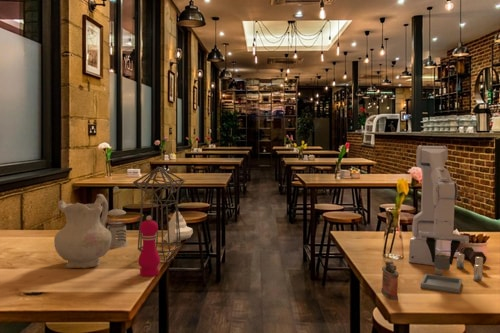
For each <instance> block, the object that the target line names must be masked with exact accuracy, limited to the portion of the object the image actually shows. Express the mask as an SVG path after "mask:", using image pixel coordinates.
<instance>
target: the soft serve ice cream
mask: <svg viewBox="0 0 500 333" xmlns="http://www.w3.org/2000/svg"><path fill="white" fill-rule="evenodd" d="M178 215H179V227H180V239H181V241H184V240H188V239H191V237H192V235H193V233H194V232H193V231H194V230H193V228H192V227H189V226H187V222H186V220H185V219H184V217H183V215H182V214H181V212H180V211H179V210H178ZM168 222H169V239H170V243H177V234H176V211H175V212H174V213H173V214H172V217H171V218H170V220H168ZM163 239H164V240H165V242H166V243H168V231H167V232H166V233H165V235H163ZM178 242H179V232H178Z"/></svg>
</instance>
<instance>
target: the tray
mask: <svg viewBox="0 0 500 333" xmlns="http://www.w3.org/2000/svg"><path fill="white" fill-rule="evenodd" d="M461 287H462V278H460V277H457V278H456V277H451V276H445V275H444V276H443V275H442V276H438V275H435V274H430V273H425V274H424V276H423V278H422V280H421V282H420V289H425V290H432V291H433V290H434V291H438V292H444V293H445V292H446V293H450V294H451V293H452V294H458V295H460V292H461V291H460V290H461Z"/></svg>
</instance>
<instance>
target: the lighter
mask: <svg viewBox="0 0 500 333" xmlns="http://www.w3.org/2000/svg"><path fill="white" fill-rule="evenodd" d="M384 262H385V266H382V267H381V271H382V278H381V279H382V280H381V282H382V284H381V286H382V287H381V293H382V295H383V296H384V297H385V298H387V299H389V300H390V301H391V300H392V301H396V300H397V301H398V300H399V295H398V289H399V288H398V285H399V284H398V283H399V281H398V280H399V278H398V277H399V272H398V271H397V266H396V264H394V261H389V260H385V261H384Z"/></svg>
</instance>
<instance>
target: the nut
mask: <svg viewBox="0 0 500 333" xmlns="http://www.w3.org/2000/svg"><path fill="white" fill-rule="evenodd" d="M433 268H434V269H435V268H437V269H440V270H442V271H449V270H450V268H451V265H450V256H449V255H447V254H446V255H439V254H436V255H435V260H434V265H433Z"/></svg>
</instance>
